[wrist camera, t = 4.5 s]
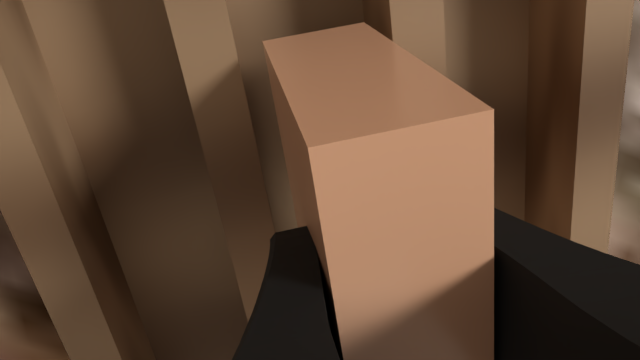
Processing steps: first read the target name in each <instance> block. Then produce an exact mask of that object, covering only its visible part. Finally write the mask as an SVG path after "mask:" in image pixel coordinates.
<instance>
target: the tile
mask: <svg viewBox="0 0 640 360" xmlns="http://www.w3.org/2000/svg"><path fill="white" fill-rule="evenodd" d="M262 42H263V48H264V53H265V58H266V63H267V69H268V74H269V79H270V84H271V89H272V95H273V100H274V105H275V110H276V116H277V121H278V126H279V131H280V136H281V142H282V147H283V152H284V157H285V163H286V168H287V173H288V178H289V183H290V189H291V194H292V199H293V204H294V210H295V215H296V220H297V225H298V228H299V227H303V226H307V228H308V230H309V232H310V234H311V237H312V239H313V241H314V244H315V247H316V249H317V254H318V260H319V265H320V271H321V277H322V282H323V288H324V294H325V299H326V305H327V310H328V316H329V322H330V327H331V333H332V337H333V340H334V343H335V346H336V349H337V352H338V355H339V358H340V360H494V109H493V108H491V107H490V106H488V105H487V104H485V103H484V102H482V101H481V100H479V99H478V98H476V97H475V96H473V95H472V94H471V93H469V92H468V91H466V90H465V89H463V88H462V87H460V86H459V85H457V84H456V83H454V82H453V81H451V80H450V79H448V78H447V77H445V76H444V75H442V74H441V73H439V72H438V71H436V70H435V69H433V68H432V67H430V66H429V65H427V64H426V63H424V62H423V61H421V60H420V59H418V58H417V57H415V56H414V55H412V54H411V53H409V52H408V51H406V50H405V49H403V48H402V47H400V46H399V45H397V44H396V43H394V42H393V41H391V40H390V39H388V38H387V37H385V36H384V35H382V34H381V33H379V32H378V31H376V30H375V29H373V28H372V27H370V26H369V25H367V24H366V23H364V22H362V23H357V24H352V25H346V26H341V27H336V28H330V29H325V30H319V31H314V32H309V33H303V34H298V35H292V36H287V37H282V38H276V39H271V40H266V41H262Z"/></svg>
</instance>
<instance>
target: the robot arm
mask: <svg viewBox="0 0 640 360" xmlns="http://www.w3.org/2000/svg"><path fill="white" fill-rule="evenodd" d="M232 360H340V358H339V355H338V352H337V349H336V346H335V343H334V340H333V337H332V333H331V327H330V322H329V316H328V310H327V305H326V299H325V294H324V288H323V282H322V277H321V271H320V265H319V260H318V254H317V249H316V247H315V244H314V241H313V239H312V237H311V234H310V232H309V230H308V228H307V226H303V227H299V228H294V229H290V230H285V231H281V232H276V233H275V234H274V235H273V236H272V238H271V239H270V250H269V257H268V262H267V266H266V270H265V274H264V278H263V281H262V284H261V288H260V291H259V294H258V297H257V300H256V303H255V306H254V309H253V312H252V314H251V316H250V319H249V321H248V324H247V326H246V329H245V331H244V334H243V336H242V338H241V341H240V343H239V346H238V348H237V350H236V352H235V354H234V356H233V358H232ZM494 360H640V265H639V264H635V263H632V262H629V261H626V260H623V259H620V258H617V257H614V256H612V255H609V254H606V253H603V252H601V251H598V250H595V249H592V248H590V247H587V246H584V245H582V244H579V243H576V242H574V241H571V240H569V239H566V238H564V237H561V236H559V235H556V234H554V233H551V232H549V231H547V230H544V229H542V228H539V227H537V226H535V225H532V224H530V223H528V222H526V221H523V220H521V219H519V218H516V217H514V216H512V215H510V214H507V213H505V212H503V211H501V210H498V209H496V208H494Z"/></svg>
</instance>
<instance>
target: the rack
mask: <svg viewBox="0 0 640 360" xmlns="http://www.w3.org/2000/svg"><path fill="white" fill-rule="evenodd" d="M633 7H634V0H0V211H1V213H2V215H3V217H4V219H5V221H6V223H7V225H8V228H9V230H10V232H11V234H12V236H13V238H14V240H15V243H16V245H17V247H18V249H19V251H20V253H21V255H22V258H23V260H24V262H25V264H26V266H27V268H28V270H29V273H30V275H31V277H32V279H33V281H34V283H35V285H36V288H37V290H38V292H39V294H40V296H41V298H42V300H43V303H44V305H45V307H46V309H47V311H48V313H49V315H50V318H51V320H52V322H53V324H54V326H55V328H56V330H57V333H58V335H59V337H60V339H61V341H62V343H63V345H64V348H65V350H66V352H67V354H68V356H69V358H70V360H232V358H233V356H234V354H235V352H236V350H237V348H238V346H239V343H240V341H241V338H242V336H243V334H244V331H245V329H246V326H247V324H248V321H249V319H250V316H251V314H252V312H253V309H254V306H255V303H256V300H257V297H258V294H259V291H260V288H261V284H262V281H263V278H264V274H265V270H266V266H267V262H268V257H269V250H270V239H271V238H272V236H273V235H274V234H275V233H276V232H281V231H285V230H290V229H294V228H298V225H297V220H296V215H295V210H294V204H293V199H292V194H291V189H290V183H289V178H288V173H287V168H286V163H285V157H284V152H283V147H282V142H281V136H280V131H279V126H278V121H277V116H276V110H275V105H274V100H273V95H272V89H271V84H270V79H269V74H268V69H267V63H266V58H265V53H264V48H263V42H262V41H266V40H271V39H276V38H282V37H287V36H292V35H298V34H303V33H309V32H314V31H319V30H325V29H330V28H336V27H341V26H346V25H352V24H357V23H362V22H364V23H366V24H367V25H369V26H370V27H372V28H373V29H375V30H376V31H378V32H379V33H381V34H382V35H384V36H385V37H387V38H388V39H390V40H391V41H393V42H394V43H396V44H397V45H399V46H400V47H402V48H403V49H405V50H406V51H408V52H409V53H411V54H412V55H414V56H415V57H417V58H418V59H420V60H421V61H423V62H424V63H426V64H427V65H429V66H430V67H432V68H433V69H435V70H436V71H438V72H439V73H441V74H442V75H444V76H445V77H447V78H448V79H450V80H451V81H453V82H454V83H456V84H457V85H459V86H460V87H462V88H463V89H465V90H466V91H468V92H469V93H471V94H472V95H473V96H475V97H476V98H478V99H479V100H481V101H482V102H484V103H485V104H487V105H488V106H490V107H491V108H493V109H494V208H496V209H498V210H501V211H503V212H505V213H507V214H510V215H512V216H514V217H516V218H519V219H521V220H523V221H526V222H528V223H530V224H532V225H535V226H537V227H539V228H542V229H544V230H547V231H549V232H551V233H554V234H556V235H559V236H561V237H564V238H566V239H569V240H571V241H574V242H576V243H579V244H582V245H584V246H587V247H590V248H592V249H595V250H598V251H601V252H603V253H606V254H608V245H609V235H610V226H611V216H612V207H613V197H614V188H615V178H616V169H617V159H618V150H619V140H620V131H621V121H622V112H623V102H624V93H625V83H626V74H627V64H628V55H629V45H630V36H631V26H632V17H633Z"/></svg>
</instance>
